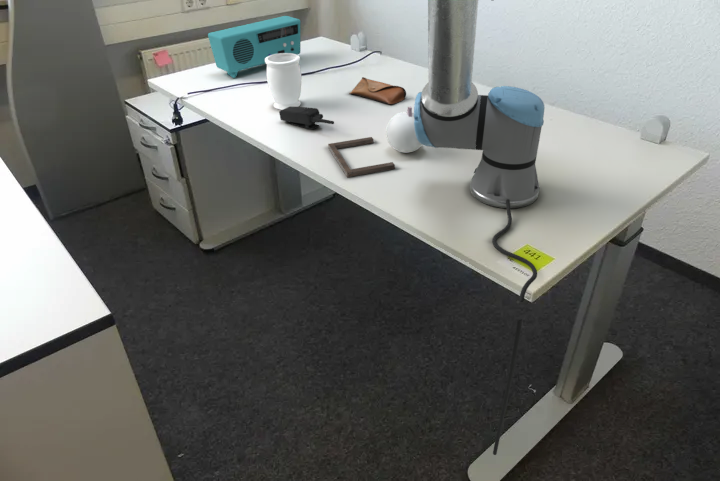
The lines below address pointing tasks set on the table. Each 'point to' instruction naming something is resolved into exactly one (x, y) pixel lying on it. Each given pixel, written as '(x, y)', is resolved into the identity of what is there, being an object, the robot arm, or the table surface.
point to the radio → (254, 43)
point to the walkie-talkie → (303, 117)
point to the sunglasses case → (379, 91)
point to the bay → (362, 170)
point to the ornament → (402, 132)
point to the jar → (284, 79)
